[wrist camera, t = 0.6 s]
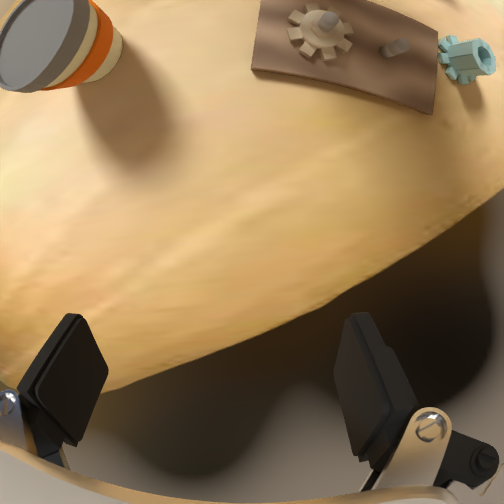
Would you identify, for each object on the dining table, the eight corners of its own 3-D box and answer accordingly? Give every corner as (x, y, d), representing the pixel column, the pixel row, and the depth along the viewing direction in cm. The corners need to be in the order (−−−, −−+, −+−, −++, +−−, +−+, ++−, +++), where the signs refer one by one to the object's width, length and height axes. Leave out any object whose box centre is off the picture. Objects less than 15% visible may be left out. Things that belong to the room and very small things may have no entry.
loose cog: (437, 28, 24) (464, 19, 18) (473, 50, 25) (500, 47, 18) (436, 71, 28) (465, 68, 21) (472, 91, 28) (501, 92, 22)
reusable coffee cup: (144, 11, 25) (93, -32, 11) (124, 93, 30) (58, 86, 17) (71, 21, 24) (8, 0, 10) (54, 96, 29) (-17, 100, 15)
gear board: (264, -18, 23) (267, -43, 17) (432, 33, 25) (459, 25, 19) (251, 69, 29) (251, 57, 23) (426, 114, 31) (455, 116, 25)
